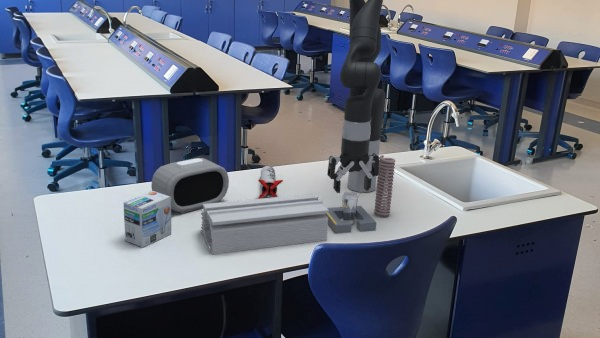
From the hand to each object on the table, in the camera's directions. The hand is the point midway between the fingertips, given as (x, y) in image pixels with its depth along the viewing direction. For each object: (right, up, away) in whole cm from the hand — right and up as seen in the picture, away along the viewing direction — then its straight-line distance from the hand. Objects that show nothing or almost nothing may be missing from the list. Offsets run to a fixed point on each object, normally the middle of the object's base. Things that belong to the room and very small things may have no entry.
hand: (351, 190), depth 169 cm
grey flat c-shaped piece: (-1, -9, +3) cm, 10 cm away
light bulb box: (-54, -12, -12) cm, 56 cm away
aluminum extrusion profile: (-24, -12, -7) cm, 28 cm away
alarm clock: (-47, -5, +10) cm, 48 cm away
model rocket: (-25, -1, +26) cm, 36 cm away
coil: (+10, -8, +10) cm, 16 cm away
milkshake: (0, -9, +3) cm, 10 cm away
